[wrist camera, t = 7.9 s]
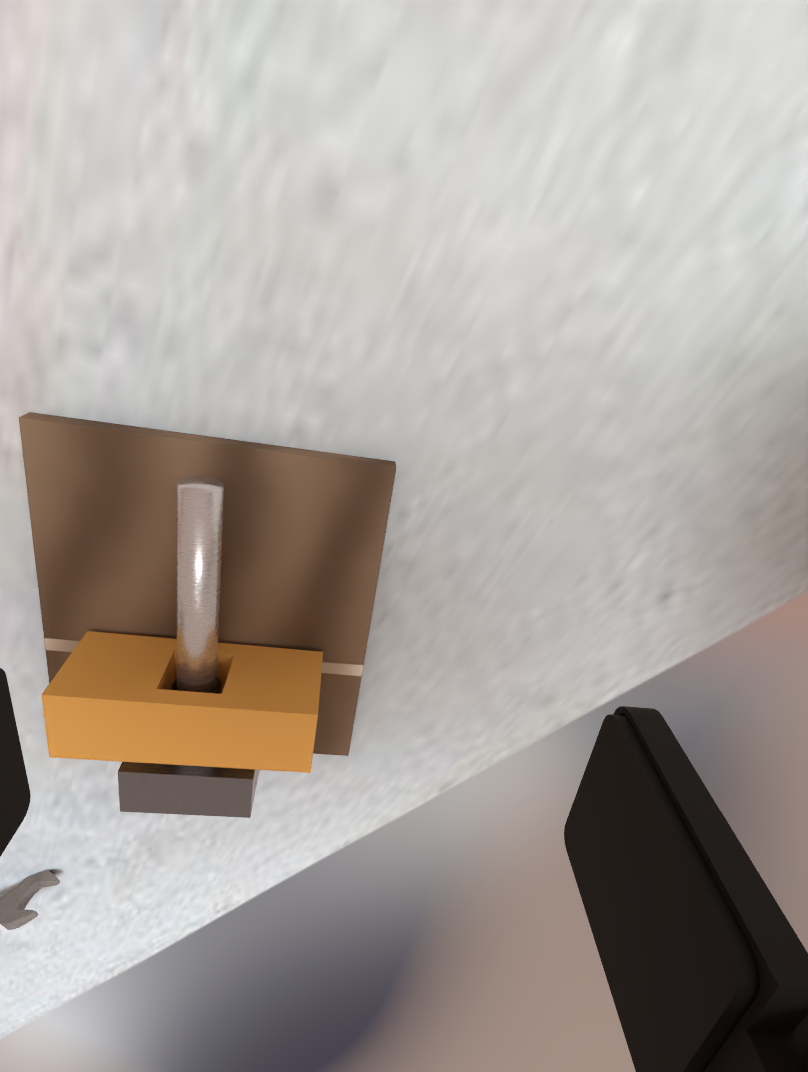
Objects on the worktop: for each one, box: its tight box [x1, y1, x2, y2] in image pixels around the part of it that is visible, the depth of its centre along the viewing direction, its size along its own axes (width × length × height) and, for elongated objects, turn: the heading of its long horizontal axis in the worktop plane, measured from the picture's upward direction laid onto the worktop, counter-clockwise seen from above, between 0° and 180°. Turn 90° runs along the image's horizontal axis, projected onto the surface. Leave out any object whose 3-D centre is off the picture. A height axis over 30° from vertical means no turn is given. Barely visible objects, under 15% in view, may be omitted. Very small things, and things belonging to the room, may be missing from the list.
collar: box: [42, 631, 323, 773], centre depth 32 cm, size 13×4×5 cm, turn 81°
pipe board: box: [19, 412, 396, 756], centre depth 33 cm, size 18×20×1 cm
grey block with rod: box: [118, 476, 259, 818], centre depth 31 cm, size 7×19×5 cm, turn 171°
